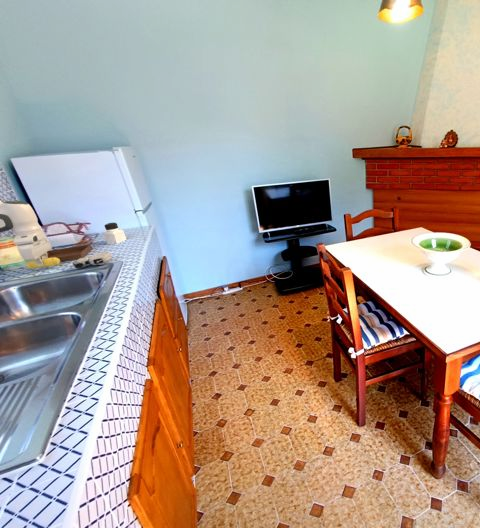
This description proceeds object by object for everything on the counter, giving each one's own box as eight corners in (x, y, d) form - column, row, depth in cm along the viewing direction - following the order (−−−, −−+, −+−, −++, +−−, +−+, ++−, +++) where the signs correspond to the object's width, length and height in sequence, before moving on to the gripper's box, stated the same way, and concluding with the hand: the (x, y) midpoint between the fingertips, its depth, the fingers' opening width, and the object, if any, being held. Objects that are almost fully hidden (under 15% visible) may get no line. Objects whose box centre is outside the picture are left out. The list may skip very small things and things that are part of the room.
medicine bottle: (127, 240, 185) (120, 221, 180) (117, 244, 179) (110, 224, 174) (117, 240, 186) (110, 221, 181) (107, 244, 180) (99, 225, 175)
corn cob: (26, 270, 140) (23, 263, 138) (30, 268, 143) (27, 260, 142) (59, 265, 144) (56, 257, 143) (62, 263, 148) (59, 255, 146)
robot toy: (72, 274, 139) (110, 264, 144) (67, 265, 137) (106, 256, 143) (79, 265, 149) (115, 257, 155) (75, 257, 147) (111, 249, 153)
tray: (34, 266, 148) (31, 261, 147) (49, 255, 164) (47, 250, 163) (82, 259, 156) (80, 253, 155) (92, 249, 172) (90, 244, 171)
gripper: (32, 232, 145) (44, 258, 150) (10, 242, 128) (25, 272, 133) (48, 230, 148) (60, 256, 153) (30, 240, 131) (43, 269, 136)
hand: (43, 263), depth 143 cm, fingers closed on corn cob, 4 cm apart
